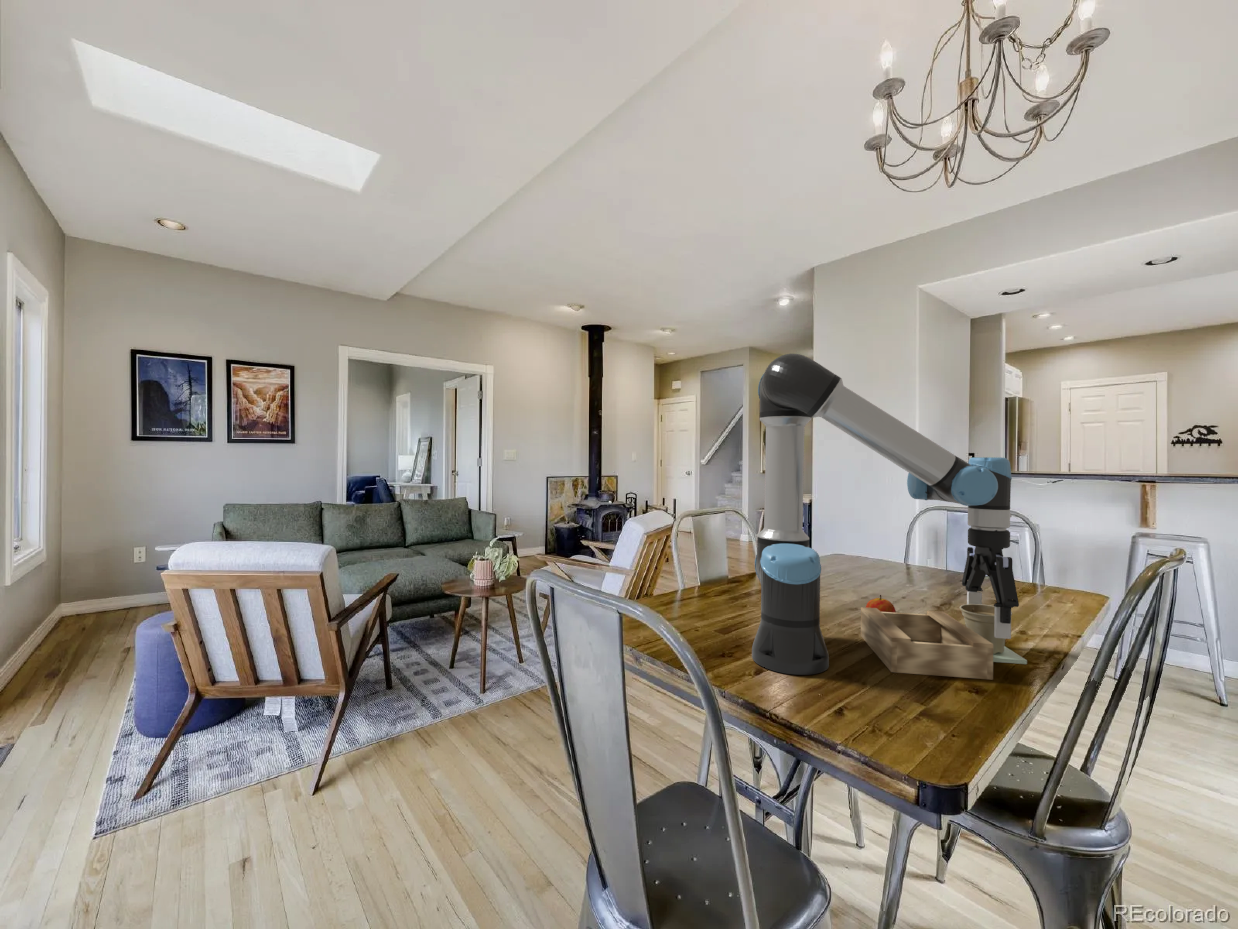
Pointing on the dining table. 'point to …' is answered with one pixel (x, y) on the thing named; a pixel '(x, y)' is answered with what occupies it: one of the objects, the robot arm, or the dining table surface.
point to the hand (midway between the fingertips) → (987, 628)
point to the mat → (1008, 657)
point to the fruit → (881, 605)
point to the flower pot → (983, 623)
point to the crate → (927, 644)
